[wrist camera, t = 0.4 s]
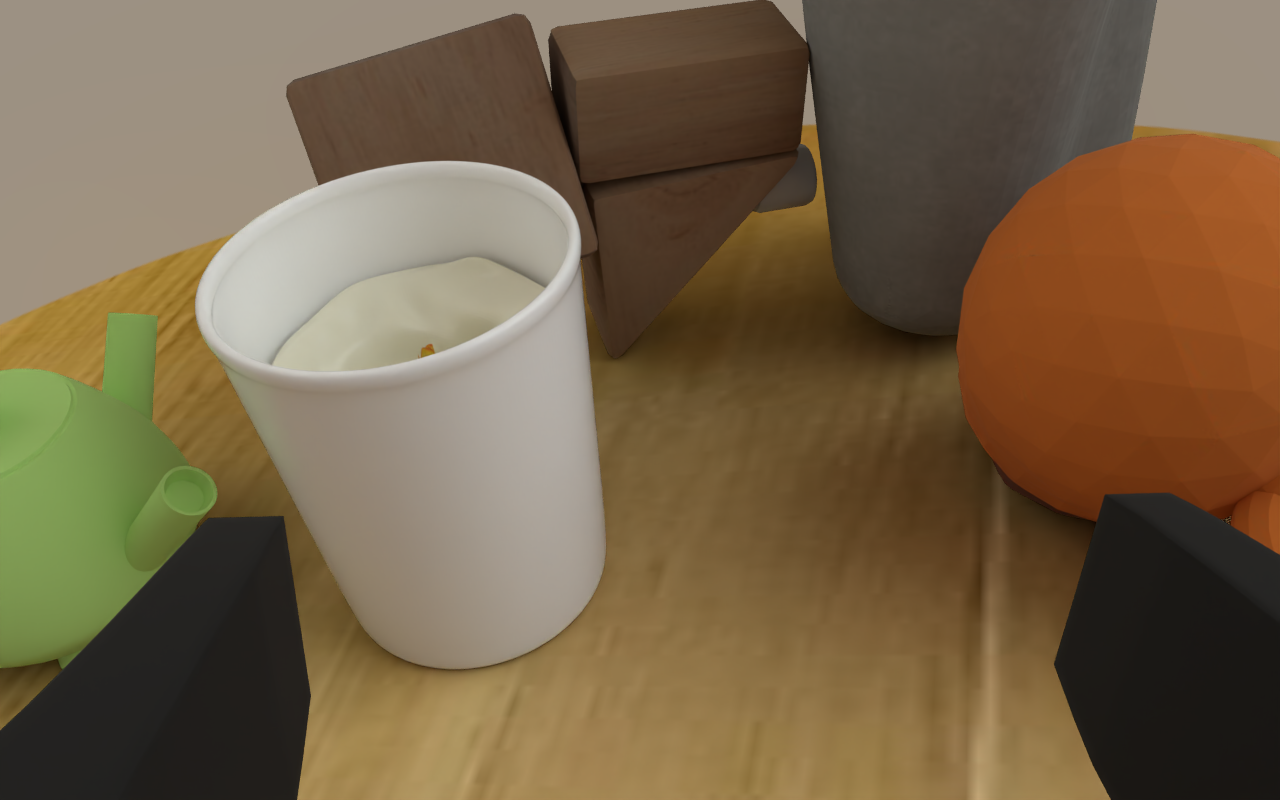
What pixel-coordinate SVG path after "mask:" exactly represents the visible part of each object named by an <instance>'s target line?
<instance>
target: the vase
mask: <svg viewBox="0 0 1280 800" xmlns="http://www.w3.org/2000/svg"><path fill="white" fill-rule="evenodd" d="M802 3H803V12H804V21H805V31H806V40H807V45H808V48H809V66H810V75H811V83H812V91H813V100H814V107H815V116H816V125H817V133H818V141H819V149H820V158H821V166H822V174H823V182H824V190H825V198H826V207H827V215H828V223H829V231H830V239H831V248H832V256H833V262H834V266H835V270H836V274H837V277H838V279H839V281H840V284H841V286H842V288H843V289H844V291H845V292H846V294H847V295H848V296H849V298H850V299H851V300H852V301H853V303H854V304H855V305H856V306H857V307H858V308H859V309H860V310H862V311H863V312H865V313H866V314H868V315H869V316H871V317H872V318H874V319H876V320H877V321H879V322H881V323H882V324H885V325H888V326H891V327H893V328H896V329H899V330H902V331H905V332H911V333H916V334H922V335H931V336H943V335H957V334H958V331H959V324H960V316H961V308H962V300H963V292H964V287H965V285H966V283H967V281H968V279H969V277H970V274H971V272H972V270H973V268H974V266H975V264H976V262H977V260H978V258H979V255H980V253H981V251H982V249H983V247H984V245H985V243H986V241H987V239H988V236H989V235H990V234H991V233H992V231H993V230H994V229H995V228H996V227H997V226H998V224H999V223H1000V222H1001V221H1002V220H1003V219H1004V217H1005V216H1006V215H1007V214H1008V213H1009V212H1010V210H1011V209H1012V208H1013V207H1014V206H1015V205H1016V203H1017V202H1018V201H1019V200H1020V199H1021V198H1022V196H1023V195H1024V194H1025V193H1026V192H1027V191H1028V189H1030V188H1031V187H1033V186H1034V185H1036V184H1037V183H1039V182H1040V181H1042V180H1043V179H1045V178H1046V177H1048V176H1049V175H1051V174H1052V173H1054V172H1055V171H1057V170H1058V169H1060V168H1061V167H1063V166H1064V165H1066V164H1067V163H1069V162H1070V161H1072V160H1073V159H1075V158H1076V157H1078V156H1081V155H1084V154H1087V153H1091V152H1094V151H1097V150H1101V149H1104V148H1107V147H1111V146H1114V145H1117V144H1121V143H1124V142H1127V141H1131V139H1132V134H1133V129H1134V124H1135V119H1136V113H1137V109H1138V103H1139V98H1140V93H1141V87H1142V83H1143V78H1144V73H1145V67H1146V61H1147V54H1148V49H1149V43H1150V37H1151V32H1152V26H1153V20H1154V14H1155V8H1156V3H1157V0H802Z"/></svg>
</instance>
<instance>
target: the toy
mask: <svg viewBox="0 0 1280 800" xmlns="http://www.w3.org/2000/svg"><path fill="white" fill-rule="evenodd" d="M956 351H957V357H958V362H959V375H958V377H959V383H960V388H961V394H962V399H963V405H964V411H965V416H966V419H967V421H968V423H969V424H970V426H971V428H972V429H973V431H974V433H975V435H976V436H977V438H978V440H979V441H980V443H981V445H982V446H983V448H984V450H985V451H986V452H987V453H988V454H989V455H990V457H991V458H992V461H993V463H994V465H995V467H996V469H997V471H998V473H999V475H1000V476H1001V478H1002V480H1003V481H1004V483H1005V484H1006V485H1007V486H1008V487H1010V488H1011V489H1012V490H1014V491H1016V492H1018V493H1020V494H1022V495H1024V496H1026V497H1027V498H1029V499H1031V500H1033V501H1035V502H1037V503H1039V504H1041V505H1043V506H1044V507H1046V508H1048V509H1050V510H1052V511H1054V512H1056V513H1059V514H1063V515H1066V516H1071V517H1077V518H1081V519H1088V520H1091V521H1094V522H1097V519H1098V516H1099V512H1100V509H1101V506H1102V502H1103V499H1104V496H1105V494H1133V493H1171V494H1173V495H1175V496H1177V497H1179V498H1181V499H1183V500H1185V501H1187V502H1189V503H1191V504H1193V505H1195V506H1197V507H1199V508H1201V509H1202V510H1204V511H1206V512H1208V513H1210V514H1211V515H1213V516H1215V517H1217V518H1219V519H1225V518H1227V517H1229V516H1231V515H1232V518H1231V526H1232V527H1234V528H1236V529H1237V530H1239V531H1241V532H1243V533H1244V534H1246V535H1248V536H1249V537H1251V538H1253V539H1254V540H1256V541H1258V542H1259V543H1261V544H1263V545H1264V546H1266V547H1268V548H1269V549H1271V550H1273V551H1274V552H1276V553H1278V554H1279V555H1280V158H1278V157H1276V156H1274V155H1272V154H1270V153H1268V152H1266V151H1265V150H1263V149H1261V148H1259V147H1257V146H1255V145H1252V144H1246V143H1240V142H1235V141H1229V140H1224V139H1218V138H1213V137H1207V136H1202V135H1196V134H1184V135H1169V136H1155V137H1140V138H1137V139H1134V140H1131V141H1127V142H1124V143H1121V144H1117V145H1114V146H1111V147H1107V148H1104V149H1101V150H1097V151H1094V152H1091V153H1087V154H1084V155H1081V156H1078V157H1076V158H1075V159H1073V160H1072V161H1070V162H1069V163H1067V164H1066V165H1064V166H1063V167H1061V168H1060V169H1058V170H1057V171H1055V172H1054V173H1052V174H1051V175H1049V176H1048V177H1046V178H1045V179H1043V180H1042V181H1040V182H1039V183H1037V184H1036V185H1034V186H1033V187H1031V188H1030V189H1028V191H1027V192H1026V193H1025V194H1024V195H1023V196H1022V198H1021V199H1020V200H1019V201H1018V202H1017V203H1016V205H1015V206H1014V207H1013V208H1012V209H1011V210H1010V212H1009V213H1008V214H1007V215H1006V216H1005V217H1004V219H1003V220H1002V221H1001V222H1000V223H999V224H998V226H997V227H996V228H995V229H994V230H993V231H992V233H991V234H990V235H989V236H988V239H987V241H986V243H985V245H984V247H983V249H982V251H981V253H980V255H979V258H978V260H977V262H976V264H975V266H974V268H973V270H972V272H971V274H970V277H969V279H968V281H967V283H966V285H965V287H964V292H963V300H962V308H961V316H960V324H959V331H958V339H957V347H956Z"/></svg>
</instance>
